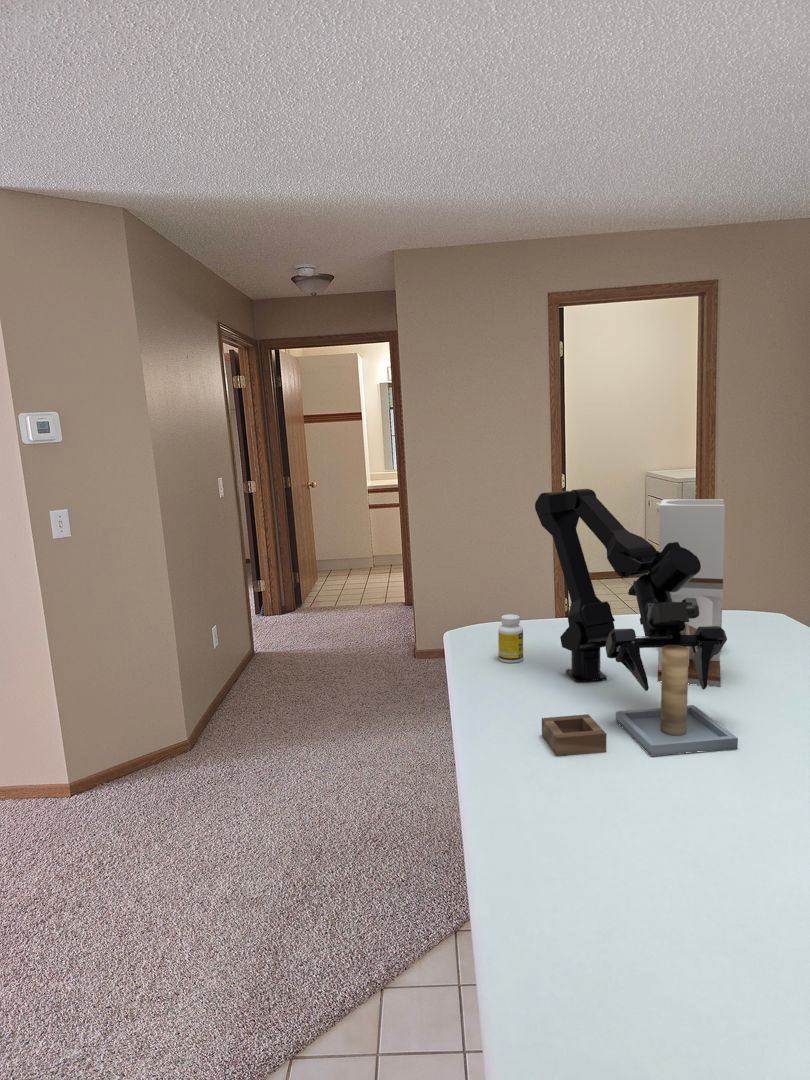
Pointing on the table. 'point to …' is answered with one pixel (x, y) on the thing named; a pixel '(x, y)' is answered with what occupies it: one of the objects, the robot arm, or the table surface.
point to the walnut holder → (573, 735)
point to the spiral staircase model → (704, 537)
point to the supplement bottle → (510, 639)
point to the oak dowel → (674, 690)
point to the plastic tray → (697, 738)
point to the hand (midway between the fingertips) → (675, 689)
